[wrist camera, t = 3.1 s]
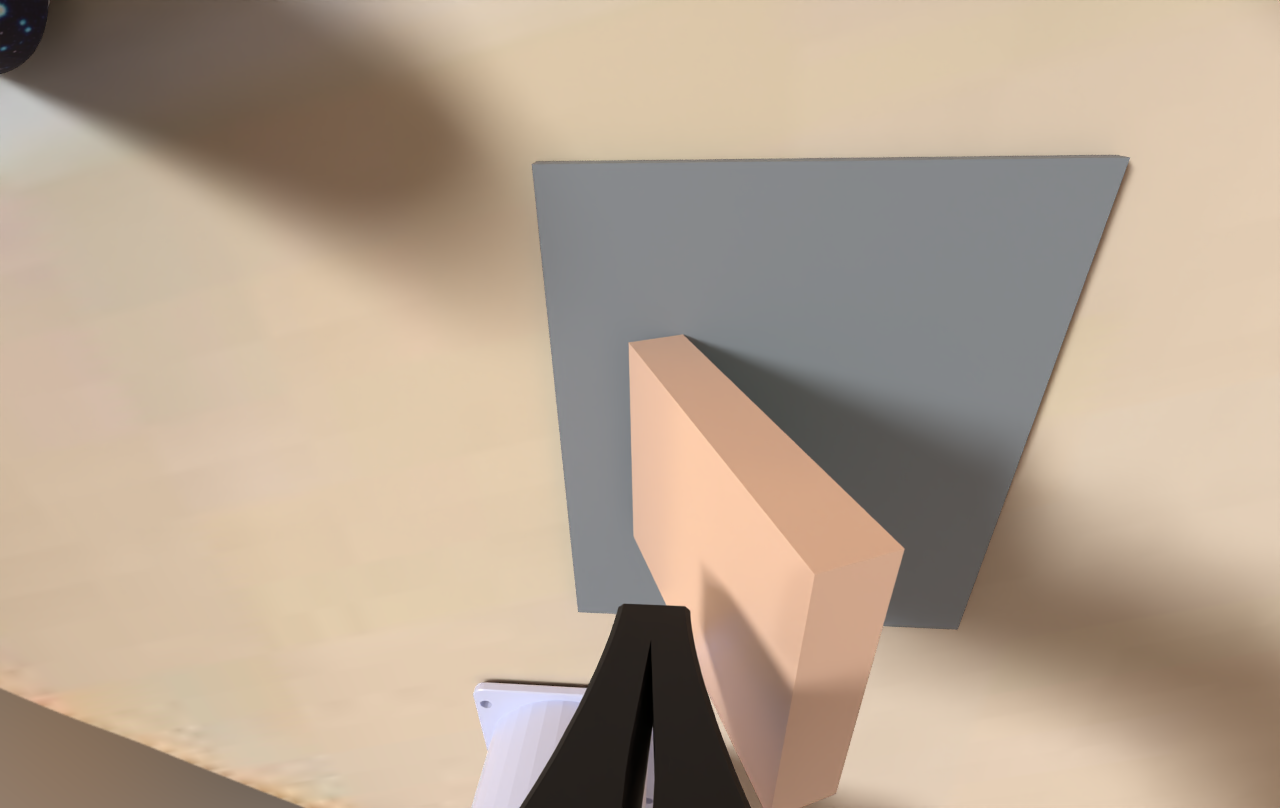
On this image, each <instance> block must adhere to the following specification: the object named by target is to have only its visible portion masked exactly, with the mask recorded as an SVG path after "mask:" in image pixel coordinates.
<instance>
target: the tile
mask: <svg viewBox="0 0 1280 808" xmlns="http://www.w3.org/2000/svg"><path fill="white" fill-rule="evenodd" d="M629 376H630V416H631V456H632V496H633V536H634V538H635V540H636V543H637V545H638V547H639V549H640V551H641V553H642V555H643V557H644V559H645V561H646V563H647V566H648V568H649V570H650V572H651V574H652V576H653V578H654V580H655V582H656V584H657V587H658V589H659V591H660V593H661V595H662V597H663V599H664V601H665V603H666V605H671V606H685V607H687V608H688V609H689V610H690V612H691V624H692V632H693V638H694V643H695V648H696V652H697V656H698V661H699V665H700V669H701V672H702V676H703V680H704V683H705V687H706V689H707V691H708V694H709V696H710V698H711V700H712V702H713V704H714V706H715V708H716V710H717V712H718V714H719V717H720V719H721V721H722V723H723V725H724V727H725V729H726V731H727V733H728V735H729V738H730V740H731V742H732V744H733V746H734V748H735V750H736V752H737V754H738V756H739V759H740V761H741V763H742V765H743V767H744V769H745V771H746V773H747V775H748V777H749V779H750V782H751V784H752V786H753V788H754V790H755V792H756V794H757V796H758V798H759V800H760V803H761V805H762V807H763V808H802V807H804V806H807V805H809V804H812V803H814V802H817V801H819V800H822V799H824V798H826V797H829V796H831V795H834V794H836V791H837V788H838V784H839V781H840V777H841V773H842V770H843V766H844V763H845V759H846V756H847V752H848V749H849V745H850V741H851V738H852V734H853V731H854V727H855V724H856V720H857V716H858V713H859V709H860V706H861V702H862V699H863V695H864V692H865V688H866V684H867V681H868V677H869V674H870V670H871V667H872V663H873V660H874V656H875V652H876V649H877V645H878V642H879V638H880V635H881V631H882V628H883V624H884V620H885V617H886V613H887V610H888V606H889V603H890V599H891V596H892V592H893V588H894V585H895V581H896V578H897V574H898V571H899V567H900V564H901V560H902V556H903V553H904V548H903V547H902V546H901V545H900V544H899V543H898V542H897V541H896V540H895V539H894V538H893V537H892V536H891V535H890V534H889V533H888V532H887V531H886V530H885V529H884V528H883V527H882V526H881V525H880V524H879V523H878V522H876V521H875V520H874V519H873V518H872V517H871V516H870V515H869V514H868V513H867V512H866V511H865V510H864V509H863V508H862V507H861V506H860V505H859V504H858V503H857V502H856V501H855V500H854V499H853V498H852V497H851V496H850V495H849V494H847V493H846V492H845V491H844V490H843V489H842V488H841V487H840V486H839V485H838V484H837V483H836V482H835V481H834V480H833V479H832V478H831V477H830V476H829V475H828V474H827V473H826V472H825V471H824V470H823V469H822V468H821V467H820V466H819V465H817V464H816V463H815V462H814V461H813V460H812V459H811V458H810V457H809V456H808V455H807V454H806V453H805V452H804V451H803V450H802V449H801V448H800V447H799V446H798V445H797V444H796V443H795V442H794V441H793V440H792V439H791V438H790V437H789V436H787V435H786V434H785V433H784V432H783V431H782V430H781V429H780V428H779V427H778V426H777V425H776V424H775V423H774V422H773V421H772V420H771V419H770V418H769V417H768V416H767V415H766V414H765V413H764V412H763V411H762V410H761V409H760V408H759V407H757V406H756V405H755V404H754V403H753V402H752V401H751V400H750V399H749V398H748V397H747V396H746V395H745V394H744V393H743V392H742V391H741V390H740V389H739V388H738V387H737V386H736V385H735V384H734V383H733V382H732V381H731V380H730V379H729V378H727V377H726V376H725V375H724V374H723V373H722V372H721V371H720V370H719V369H718V368H717V367H716V366H715V365H714V364H713V363H712V362H711V361H710V360H709V359H708V358H707V357H706V356H705V355H704V354H703V353H702V352H701V351H700V350H699V349H697V348H696V347H695V346H694V345H693V344H692V343H691V342H690V341H689V340H688V339H687V338H686V337H685V336H684V335H683V334H682V335H676V336H669V337H662V338H655V339H649V340H642V341H635V342H629Z"/></svg>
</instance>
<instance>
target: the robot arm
mask: <svg viewBox="0 0 1280 808" xmlns="http://www.w3.org/2000/svg"><path fill="white" fill-rule="evenodd" d="M473 696H474V700H475V704H476V708H477V712H478V716H479V720H480V723H481V727H482V731H483V735H484V739H485V743H486V747H487V751H488V753H487V756H486V759H485V763H484V766H483V770H482V773H481V776H480V780H479V783H478V786H477V790H476V793H475V797H474V800H473V803H472V807H471V808H751V807H750V805H749V802H748V800H747V798H746V796H745V793H744V791H743V789H742V786H741V784H740V781H739V779H738V777H737V774H736V772H735V769H734V767H733V764H732V762H731V759H730V756H729V754H728V751H727V748H726V746H725V743H724V741H723V738H722V735H721V732H720V729H719V727H718V724H717V721H716V718H715V715H714V712H713V709H712V705H711V702H710V699H709V696H708V693H707V690H706V687H705V683H704V680H703V676H702V672H701V669H700V665H699V661H698V656H697V652H696V648H695V643H694V638H693V632H692V624H691V612H690V610H689V609H688V608H687V607H685V606H671V605H647V604H622V605H621V606H619V607H618V610H617V614H616V618H615V621H614V624H613V627H612V630H611V633H610V636H609V638H608V641H607V644H606V646H605V649H604V651H603V653H602V656H601V658H600V661H599V663H598V665H597V668H596V670H595V672H594V674H593V676H592V678H591V681H590V683H589V685H588V687H587V688H579V687H561V686H543V685H525V684H507V683H489V682H483V683H479V684H477V686H476V687H475V690H474V693H473Z"/></svg>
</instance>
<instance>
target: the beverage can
mask: <svg viewBox="0 0 1280 808" xmlns="http://www.w3.org/2000/svg"><path fill="white" fill-rule="evenodd" d="M49 4H50V0H0V74H2V73H5V72H8V71H11V70H13V69H14V68H16V67H18V66H20V65H21V64H22V63H24V62H25V61H26V60H27V59H28V58H29V57H30V56H31V55H32V54H33V52H34V51H35V49H36V48H37V46H38V44H39V42H40V40H41V38H42V35H43V33H44V30H45V25H46V21H47V15H48V7H49Z"/></svg>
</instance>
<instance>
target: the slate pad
mask: <svg viewBox="0 0 1280 808" xmlns="http://www.w3.org/2000/svg"><path fill="white" fill-rule="evenodd" d="M1129 159H1130V158H1129V157H1124V156H1119V155H1067V156H979V157H891V158H803V159H715V160H627V161H538V162H535V163H533V164H532V170H533V180H534V190H535V199H536V209H537V219H538V228H539V238H540V248H541V257H542V267H543V277H544V286H545V296H546V306H547V315H548V325H549V335H550V344H551V354H552V363H553V373H554V383H555V392H556V402H557V412H558V421H559V431H560V441H561V450H562V460H563V470H564V479H565V489H566V499H567V508H568V518H569V528H570V537H571V547H572V557H573V566H574V576H575V586H576V595H577V605H578V612H587V613H609V614H617V610H618V607H619V606H621V605H622V604H647V605H666V603H665V601H664V599H663V597H662V595H661V593H660V591H659V589H658V587H657V584H656V582H655V580H654V578H653V576H652V574H651V572H650V570H649V568H648V566H647V563H646V561H645V559H644V557H643V555H642V553H641V551H640V549H639V547H638V545H637V543H636V540H635V538H634V536H633V496H632V456H631V416H630V376H629V342H635V341H642V340H649V339H655V338H662V337H669V336H676V335H682V334H683V335H684V336H685V337H686V338H687V339H688V340H689V341H690V342H691V343H692V344H693V345H694V346H695V347H696V348H697V349H699V350H700V351H701V352H702V353H703V354H704V355H705V356H706V357H707V358H708V359H709V360H710V361H711V362H712V363H713V364H714V365H715V366H716V367H717V368H718V369H719V370H720V371H721V372H722V373H723V374H724V375H725V376H726V377H727V378H729V379H730V380H731V381H732V382H733V383H734V384H735V385H736V386H737V387H738V388H739V389H740V390H741V391H742V392H743V393H744V394H745V395H746V396H747V397H748V398H749V399H750V400H751V401H752V402H753V403H754V404H755V405H756V406H757V407H759V408H760V409H761V410H762V411H763V412H764V413H765V414H766V415H767V416H768V417H769V418H770V419H771V420H772V421H773V422H774V423H775V424H776V425H777V426H778V427H779V428H780V429H781V430H782V431H783V432H784V433H785V434H786V435H787V436H789V437H790V438H791V439H792V440H793V441H794V442H795V443H796V444H797V445H798V446H799V447H800V448H801V449H802V450H803V451H804V452H805V453H806V454H807V455H808V456H809V457H810V458H811V459H812V460H813V461H814V462H815V463H816V464H817V465H819V466H820V467H821V468H822V469H823V470H824V471H825V472H826V473H827V474H828V475H829V476H830V477H831V478H832V479H833V480H834V481H835V482H836V483H837V484H838V485H839V486H840V487H841V488H842V489H843V490H844V491H845V492H846V493H847V494H849V495H850V496H851V497H852V498H853V499H854V500H855V501H856V502H857V503H858V504H859V505H860V506H861V507H862V508H863V509H864V510H865V511H866V512H867V513H868V514H869V515H870V516H871V517H872V518H873V519H874V520H875V521H876V522H878V523H879V524H880V525H881V526H882V527H883V528H884V529H885V530H886V531H887V532H888V533H889V534H890V535H891V536H892V537H893V538H894V539H895V540H896V541H897V542H898V543H899V544H900V545H901V546H902V547H903V548H904V553H903V556H902V560H901V564H900V567H899V571H898V574H897V578H896V581H895V585H894V588H893V592H892V596H891V599H890V603H889V606H888V610H887V613H886V617H885V620H884V624H883V626H892V627H914V628H936V629H958V627H959V624H960V622H961V619H962V616H963V613H964V611H965V608H966V605H967V602H968V600H969V597H970V594H971V591H972V589H973V586H974V583H975V581H976V578H977V575H978V572H979V570H980V567H981V564H982V561H983V559H984V556H985V553H986V550H987V548H988V545H989V542H990V540H991V537H992V534H993V531H994V529H995V526H996V523H997V520H998V518H999V515H1000V512H1001V509H1002V507H1003V504H1004V501H1005V498H1006V496H1007V493H1008V490H1009V488H1010V485H1011V482H1012V479H1013V477H1014V474H1015V471H1016V468H1017V466H1018V463H1019V460H1020V457H1021V455H1022V452H1023V449H1024V446H1025V444H1026V441H1027V438H1028V436H1029V433H1030V430H1031V427H1032V425H1033V422H1034V419H1035V416H1036V414H1037V411H1038V408H1039V405H1040V403H1041V400H1042V397H1043V395H1044V392H1045V389H1046V386H1047V384H1048V381H1049V378H1050V375H1051V373H1052V370H1053V367H1054V364H1055V362H1056V359H1057V356H1058V353H1059V351H1060V348H1061V345H1062V343H1063V340H1064V337H1065V334H1066V332H1067V329H1068V326H1069V323H1070V321H1071V318H1072V315H1073V312H1074V310H1075V307H1076V304H1077V302H1078V299H1079V296H1080V293H1081V291H1082V288H1083V285H1084V282H1085V280H1086V277H1087V274H1088V271H1089V269H1090V266H1091V263H1092V260H1093V258H1094V255H1095V252H1096V250H1097V247H1098V244H1099V241H1100V239H1101V236H1102V233H1103V230H1104V228H1105V225H1106V222H1107V219H1108V217H1109V214H1110V211H1111V208H1112V206H1113V203H1114V200H1115V198H1116V195H1117V192H1118V189H1119V187H1120V184H1121V181H1122V178H1123V176H1124V173H1125V170H1126V167H1127V165H1128V162H1129Z"/></svg>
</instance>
